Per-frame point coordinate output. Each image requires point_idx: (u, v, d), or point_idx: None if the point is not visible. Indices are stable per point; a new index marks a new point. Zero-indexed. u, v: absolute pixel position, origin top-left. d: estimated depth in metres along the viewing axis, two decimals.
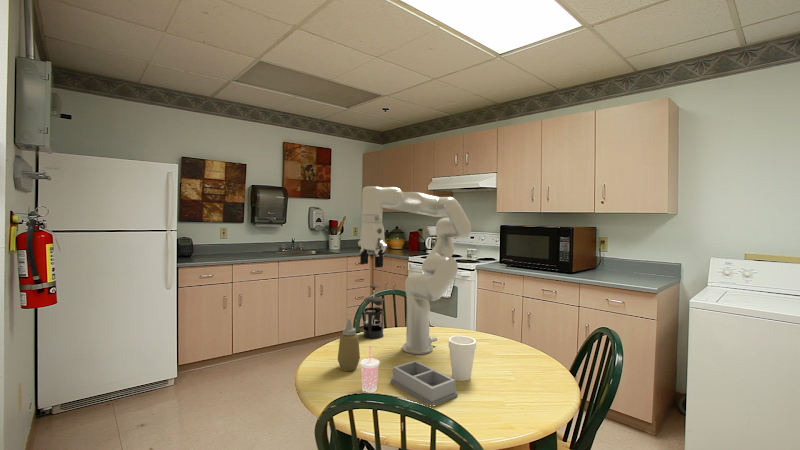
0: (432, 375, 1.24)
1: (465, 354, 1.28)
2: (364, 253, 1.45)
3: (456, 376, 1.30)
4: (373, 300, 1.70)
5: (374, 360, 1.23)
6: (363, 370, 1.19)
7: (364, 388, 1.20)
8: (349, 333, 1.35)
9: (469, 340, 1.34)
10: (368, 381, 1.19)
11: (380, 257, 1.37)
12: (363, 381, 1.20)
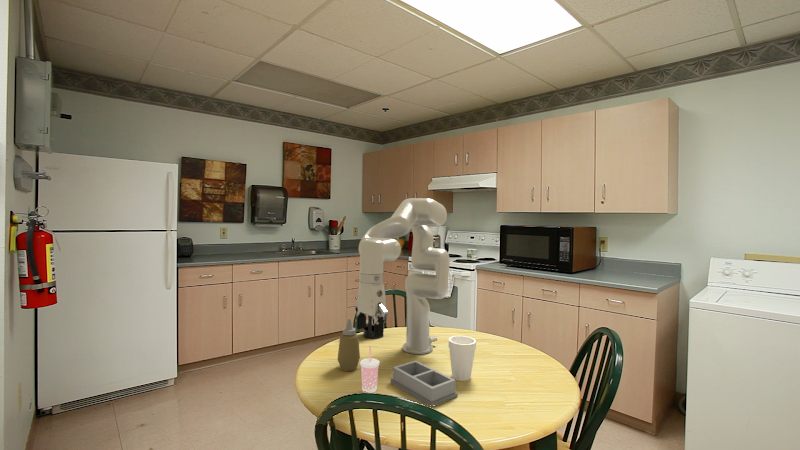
0: (432, 375, 1.24)
1: (465, 354, 1.28)
2: (361, 316, 1.24)
3: (456, 376, 1.30)
4: None
5: (374, 360, 1.23)
6: (363, 370, 1.19)
7: (364, 388, 1.20)
8: (349, 333, 1.35)
9: (469, 340, 1.34)
10: (368, 381, 1.19)
11: (380, 325, 1.16)
12: (363, 381, 1.20)
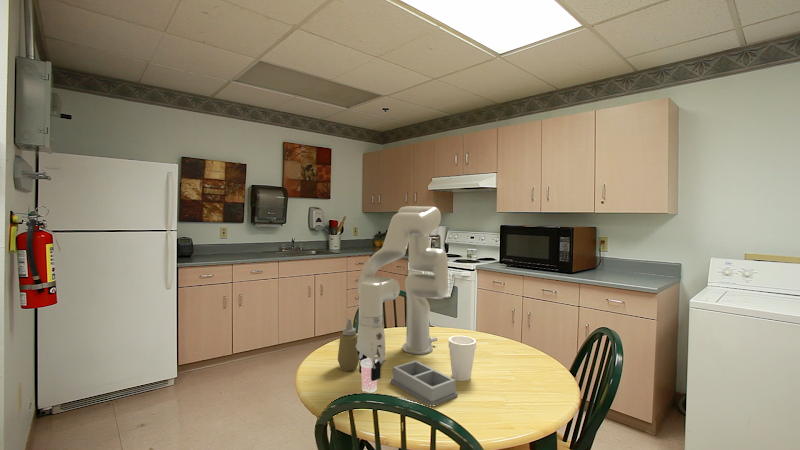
0: (432, 375, 1.24)
1: (465, 354, 1.28)
2: None
3: (456, 376, 1.30)
4: None
5: None
6: (363, 370, 1.19)
7: (364, 388, 1.20)
8: (349, 333, 1.35)
9: (469, 340, 1.34)
10: (368, 381, 1.19)
11: (377, 369, 1.18)
12: (363, 381, 1.20)
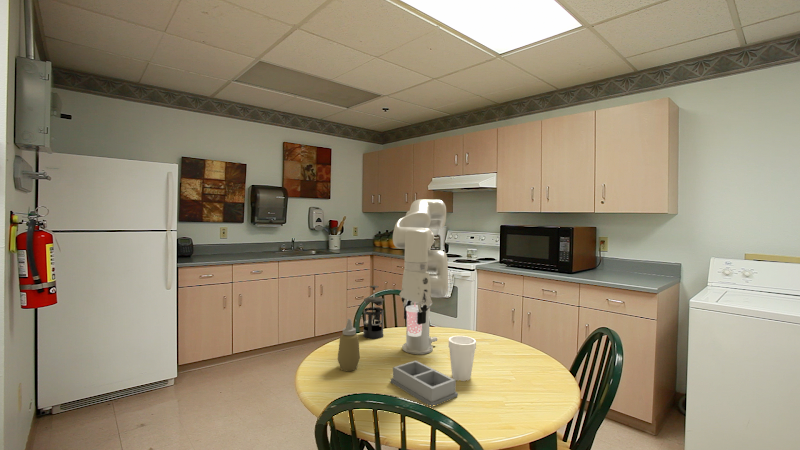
0: (432, 375, 1.24)
1: (465, 354, 1.28)
2: None
3: (456, 376, 1.30)
4: (373, 300, 1.70)
5: None
6: (409, 315, 1.23)
7: (410, 332, 1.24)
8: (349, 333, 1.35)
9: (469, 340, 1.34)
10: (414, 325, 1.23)
11: (423, 313, 1.22)
12: (409, 325, 1.24)
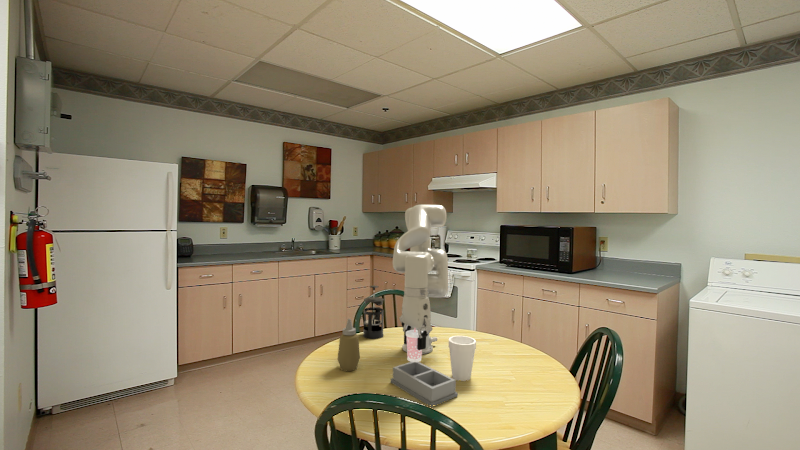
0: (432, 375, 1.24)
1: (465, 354, 1.28)
2: None
3: (456, 376, 1.30)
4: (373, 300, 1.70)
5: None
6: (409, 340, 1.23)
7: (410, 358, 1.24)
8: (349, 333, 1.35)
9: (469, 340, 1.34)
10: (414, 351, 1.23)
11: (423, 338, 1.22)
12: (409, 351, 1.24)
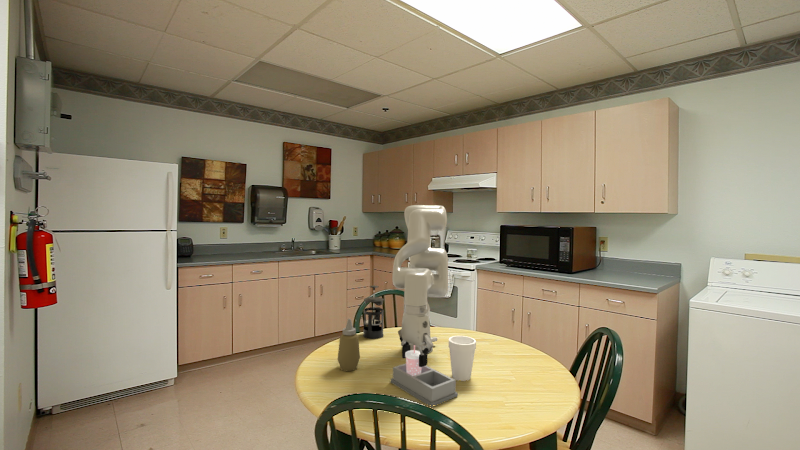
0: (432, 375, 1.24)
1: (465, 354, 1.28)
2: (406, 346, 1.29)
3: (456, 376, 1.30)
4: (373, 300, 1.70)
5: (418, 352, 1.27)
6: (408, 361, 1.24)
7: None
8: (349, 333, 1.35)
9: (469, 340, 1.34)
10: (413, 372, 1.24)
11: (425, 355, 1.21)
12: (408, 372, 1.24)
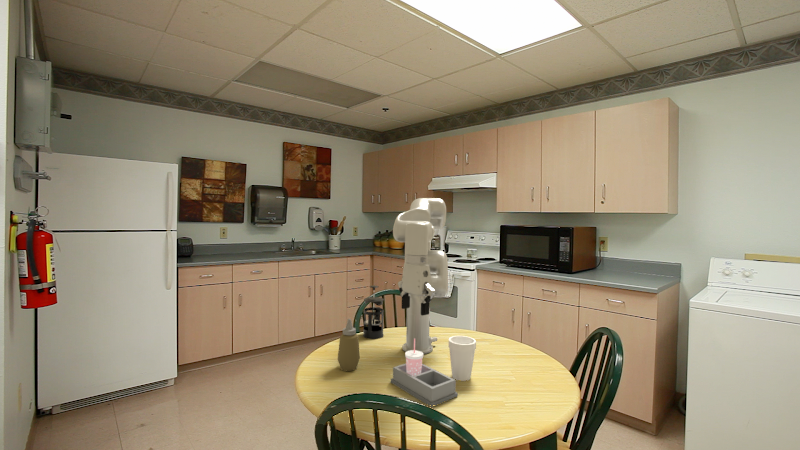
0: (432, 375, 1.24)
1: (465, 354, 1.28)
2: (406, 296, 1.29)
3: (456, 376, 1.30)
4: (373, 300, 1.70)
5: (418, 352, 1.27)
6: (408, 361, 1.24)
7: None
8: (349, 333, 1.35)
9: (469, 340, 1.34)
10: (413, 372, 1.24)
11: (427, 304, 1.21)
12: (408, 372, 1.25)
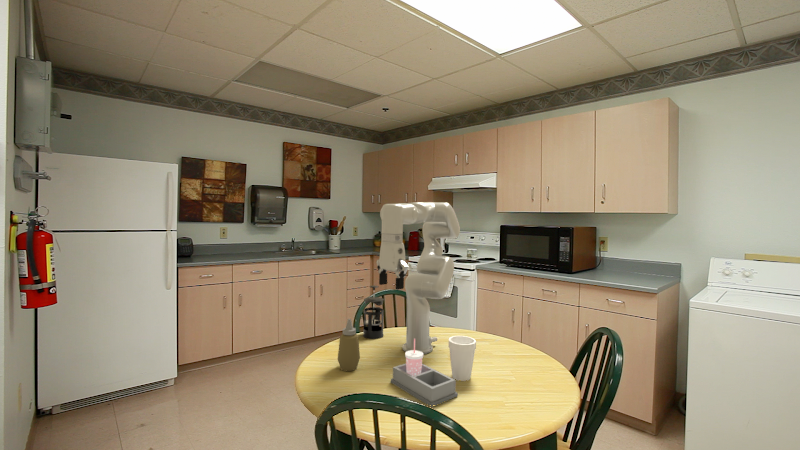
0: (432, 375, 1.24)
1: (465, 354, 1.28)
2: (383, 273, 1.39)
3: (456, 376, 1.30)
4: (373, 300, 1.70)
5: (418, 352, 1.27)
6: (408, 361, 1.24)
7: None
8: (349, 333, 1.35)
9: (469, 340, 1.34)
10: (413, 372, 1.24)
11: (401, 278, 1.31)
12: (408, 372, 1.25)
